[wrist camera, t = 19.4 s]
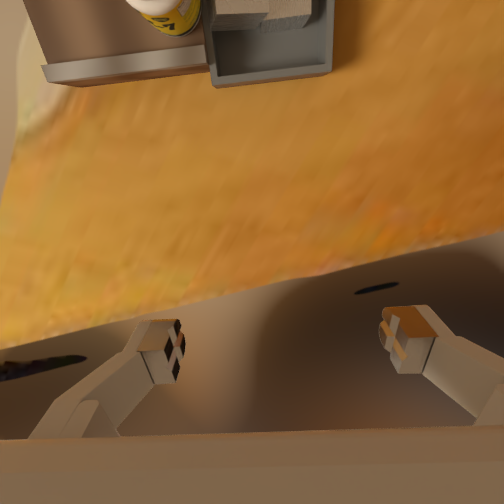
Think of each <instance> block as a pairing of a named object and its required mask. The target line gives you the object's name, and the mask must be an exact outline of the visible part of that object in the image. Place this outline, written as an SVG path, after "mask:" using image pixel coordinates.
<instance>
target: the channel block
mask: <svg viewBox="0 0 504 504" xmlns="http://www.w3.org/2000/svg"><path fill="white" fill-rule="evenodd" d="M23 2H24V4H25V7H26V9H27V12H28V15H29V17H30V20H31V22H32V25H33V27H34V30H35V33H36V35H37V38H38V40H39V43H40V45H41V48H42V50H43V53H44V56H45V58H46V61H47V63H48V65H41V67H42V70H43V72H44V74H45V77H46V79H47V82H49V83H55V84H62V85H68V86H75V87H90V86H98V85H106V84H114V83H122V82H130V81H139V80H147V79H155V78H163V77H171V76H180V75H188V74H196V73H204V72H210V67H209V60H208V53H207V47H206V40H205V33H204V26H203V19H202V12H201V15H200V18H199V21H198V23H197V25H196V26H195V28H194V29H193V30H192V31H191V32H190V33H189V34H187V35H185V36H183V37H171V36H167V35H165V34H163V33H161V32H160V31H159V30H157V29H156V28H155V27H154V26H153V25H152V24H151V23H149V22H148V21H147V20H146V19H145V18H144V17H143V16H142V15H141V14H140V13H138V12H137V11H136V10H135V9H134V8H133V7H132V6H130V5H129V3H128V2H127V1H126V0H23Z"/></svg>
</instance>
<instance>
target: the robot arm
mask: <svg viewBox="0 0 504 504" xmlns="http://www.w3.org/2000/svg"><path fill="white" fill-rule="evenodd" d="M382 317H383V318H384V321H383V322H382V323H381V324H380V327H379V335H380V339H381V343H382V344H383V346H384V348H385V349H386V350H388V351H390V352H391V355H390V359H391V361H392V363H393V365H394V367H395V368H396V370H397V372H398V373H399V374H403V373H404V374H405V373H423V375H424V376H425V377H426V378H428V379H429V380H430V381H431V382H432V383H434V384H435V385H436V386H437V387H439V388H440V389H441V390H442V391H444V392H445V393H446V394H447V395H449V396H450V397H451V398H452V399H454V400H455V401H456V402H457V403H458V404H460V405H461V406H462V407H463V408H465V409H466V410H467V411H468V412H470V413H471V414H472V415H473V416H475V417H476V418H477V419H476V421H475V423H474V424H473V426H449V427H417V428H388V429H387V428H386V429H354V430H324V431H323V430H322V431H292V432H291V431H290V432H289V431H288V432H256V433H227V434H226V433H224V434H192V435H158V436H125V437H121V436H120V435H119V433H118V432H117V430H116V428H117V427H118V426H119V425H120V424H121V422H122V421H123V420H124V419H125V418H126V417H127V416H128V415H129V413H130V412H131V411H132V410H133V409H134V408H135V407H136V405H137V404H138V403H139V402H140V401H141V400H142V399H143V397H144V396H145V395H146V394H147V393H148V392H149V391H150V390H151V388H152V387H153V386H154V384H166V383H176V380H177V376H178V373H179V370H180V365H179V361H180V360H181V359H182V358H183V356H184V353H185V345H186V343H185V337H184V334H183V333H182V332H181V331H180V329H181V324H180V320H178V319H162V320H142V321H140V322H139V323H138V325H137V327H136V329H135V330H134V332H133V334H132V336H131V337H130V339H129V341H128V343H127V344H126V346H125V348H124V350H123V352H122V353H117V354H116V355H115V356H113V357H112V358H111V359H109V360H108V361H107V362H105V363H104V364H103V365H102V366H100V367H98V368H97V369H96V370H95V371H93V372H92V373H90V374H89V375H88V376H87V377H85V378H84V379H82V380H81V381H80V382H78V383H77V384H76V385H74V386H73V387H72V388H70V389H69V390H68V391H66V392H65V393H64V394H62V395H61V396H60V397H58V398H57V399H55V401H54V402H53V403H52V405H51V406H50V408H49V409H48V410H47V412H46V413H45V415H44V417H43V418H42V419H41V420H40V422H39V423H38V425H37V426H36V428H35V429H34V431H33V432H32V433H31V435H30V436H29V438H28V439H27V440H26V439H24V440H0V504H504V358H502V357H500V356H498V355H496V354H494V353H492V352H490V351H488V350H486V349H484V348H482V347H480V346H478V345H476V344H474V343H472V342H470V341H469V340H467V339H465V338H463V337H461V336H458V337H457V336H455V335H454V334H453V333H452V332H451V330H450V329H449V328H448V327H447V326H446V325H445V324H444V323H443V322H442V321H441V319H440V318H439V317H438V316H437V315H436V314H435V313H434V312H433V311H432V309H431V308H430V307H429V306H427V305H415V306H402V307H386V308H384V310H383V312H382Z"/></svg>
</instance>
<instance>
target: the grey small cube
mask: <svg viewBox="0 0 504 504" xmlns="http://www.w3.org/2000/svg"><path fill="white" fill-rule="evenodd" d="M206 6H207V13H208V20H209V27H210V31H229V30H249V29H255V28H256V27H257V26H258V25H259V24H260V23H261V22H262V20H263V19H264V18H265V17H266V16H267V15H268V13H269V0H206Z"/></svg>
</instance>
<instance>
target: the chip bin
mask: <svg viewBox="0 0 504 504" xmlns="http://www.w3.org/2000/svg"><path fill="white" fill-rule="evenodd" d="M334 4H335V0H311V15H310V17H309V19H308V20H307V22H306V24H305V25H304V27H303V29H295V30H287V31H279V32H271V33H263V34H260V24H259V25H258V26H257V27H256V28H255V29H249V30H229V31H210V27H209V20H208V13H207V6H206V0H202V9H201V12H202V19H203V26H204V33H205V40H206V47H207V53H208V60H209V67H210V74H211V81H212V86H214V87H215V88H216V89H218V88H226V87H234V86H243V85H251V84H260V83H268V82H276V81H285V80H293V79H302V78H310V77H318V76H324V75H325V74H327V73H329V72H331V71H332V55H333V29H334Z"/></svg>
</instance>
